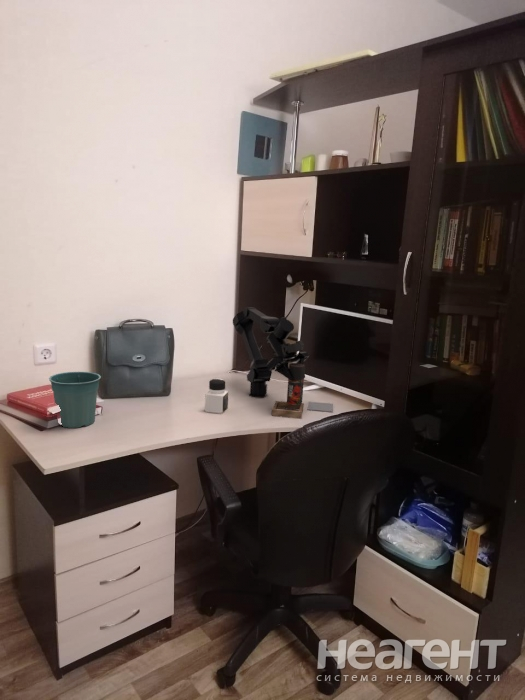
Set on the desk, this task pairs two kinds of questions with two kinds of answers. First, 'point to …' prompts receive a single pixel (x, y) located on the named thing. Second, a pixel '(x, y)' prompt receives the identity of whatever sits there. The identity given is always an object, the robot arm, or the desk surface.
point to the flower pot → (76, 397)
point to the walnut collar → (287, 412)
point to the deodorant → (296, 384)
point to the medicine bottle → (216, 397)
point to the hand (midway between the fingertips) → (298, 379)
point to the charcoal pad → (320, 407)
